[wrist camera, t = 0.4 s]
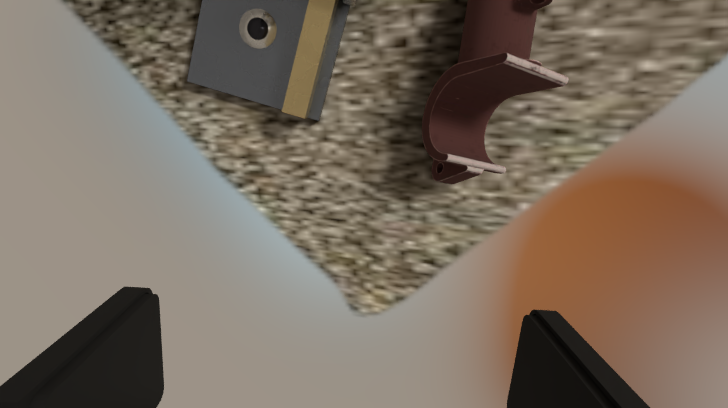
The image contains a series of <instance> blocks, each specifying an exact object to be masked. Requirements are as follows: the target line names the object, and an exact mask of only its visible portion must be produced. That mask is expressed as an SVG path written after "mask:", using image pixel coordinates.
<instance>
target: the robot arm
mask: <svg viewBox="0 0 728 408" xmlns="http://www.w3.org/2000/svg"><path fill="white" fill-rule="evenodd" d="M163 390H164V378H163V361H162V344H161V325H160V308H159V297H158V295H156V294H153V293H152V291H151V289H150V288H139V287H123V288H122V289H120V290H119V291H118V292H117V293H115V294H114V295H113V296H112V297H110V298H109V299H108V300H107V301H105V302H104V303H103V304H102V305H101V306H99V307H98V308H97V309H96V310H95V311H93V312H92V313H91V314H89V315H88V316H87V317H86V318H84V319H83V320H82V321H81V322H79V323H78V324H77V325H76V326H74V327H73V328H72V329H71V330H70V331H68V332H67V333H66V334H64V336H62V337H61V338H60V339H58V340H57V341H56V342H55V343H53V344H52V345H51V346H50V347H49V348H47V349H46V350H45V351H43V352H42V353H41V354H40V355H39V356H37V357H36V358H35V359H34V360H32V361H31V362H30V363H29V364H27V365H26V366H25V367H24V368H22V369H21V370H20V371H19V372H17V373H16V374H15V375H14V376H12V377H11V378H10V379H9V380H7V381H6V382H5V383H4V384H3V385H1V386H0V408H156V407H157V405H158V404H159V402H160V401H161V398H162V395H163ZM507 408H650V407H649V406H648V405H647V404H646V403H645V402H644V401H643V400H642V399H641V398H640V397H639V396H638V395H637V394H636V393H635V392H634V391H633V390H632V389H631V387H629V385H628V384H627V383H626V382H625V381H624V380H623V379H622V378H621V377H620V376H619V375H618V374H617V373H616V372H615V371H614V370H613V369H612V368H611V367H610V366H609V365H608V364H607V363H606V362H605V360H604V359H603V358H602V357H601V356H599V354H598V353H597V352H596V351H595V350H594V349H593V348H592V347H591V346H590V345H589V344H588V343H587V342H586V341H585V340H584V339H583V338H582V337H581V336H580V335H579V334H578V332H577V331H575V329H574V328H572V326H571V325H570V324H569V323H568V322H567V321H566V320H565V319H564V318H563V317H562V316H561V315H560V314H559V313H558V312H557V311H547V310H532V311H531V313H530V315H525V316H524V318H523V322H522V327H521V332H520V337H519V342H518V347H517V353H516V358H515V364H514V369H513V374H512V379H511V384H510V390H509V395H508V400H507Z"/></svg>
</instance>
